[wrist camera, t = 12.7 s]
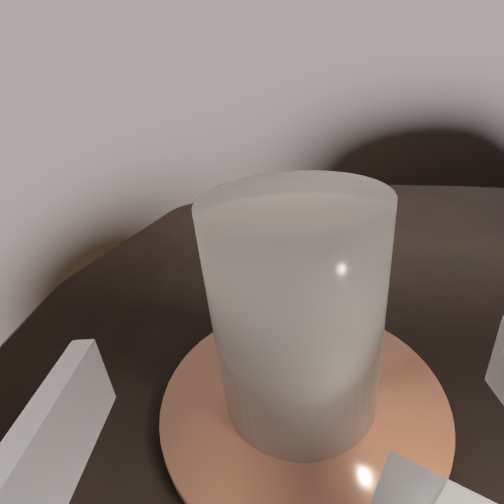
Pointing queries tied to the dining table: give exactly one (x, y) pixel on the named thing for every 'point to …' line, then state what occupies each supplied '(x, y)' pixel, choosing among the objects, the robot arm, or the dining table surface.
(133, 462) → the dining table surface
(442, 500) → the white square pad
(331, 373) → the white pillar candle
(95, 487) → the dining table surface
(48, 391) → the robot arm
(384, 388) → the peach round disc
